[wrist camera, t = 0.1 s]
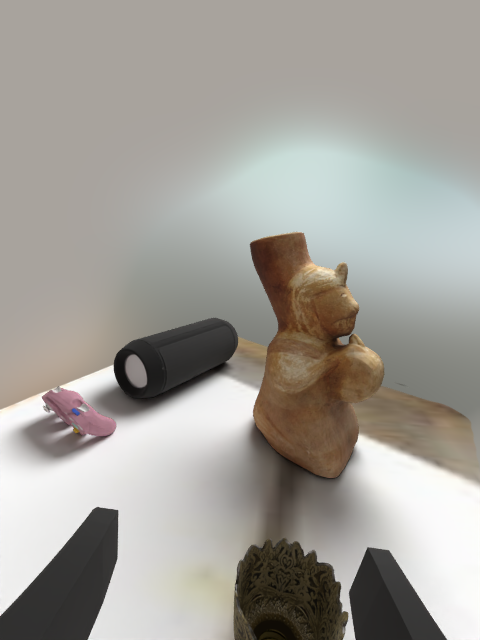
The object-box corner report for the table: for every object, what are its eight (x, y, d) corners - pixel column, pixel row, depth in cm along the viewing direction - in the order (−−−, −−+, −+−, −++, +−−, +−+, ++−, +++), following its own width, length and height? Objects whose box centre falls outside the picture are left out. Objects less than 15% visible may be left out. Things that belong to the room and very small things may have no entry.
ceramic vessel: (339, 501, 40) (412, 251, 32) (201, 423, 51) (226, 221, 42) (369, 440, 53) (427, 251, 45) (253, 389, 64) (282, 228, 55)
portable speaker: (202, 351, 78) (207, 310, 75) (238, 366, 73) (245, 323, 70) (109, 390, 57) (111, 335, 54) (150, 413, 52) (155, 355, 49)
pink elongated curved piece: (53, 423, 49) (28, 393, 44) (79, 400, 51) (58, 370, 47) (95, 455, 44) (72, 425, 39) (121, 428, 47) (102, 397, 42)
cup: (327, 757, 21) (360, 674, 18) (211, 726, 21) (227, 642, 19) (315, 620, 28) (337, 548, 25) (228, 599, 28) (242, 527, 26)
